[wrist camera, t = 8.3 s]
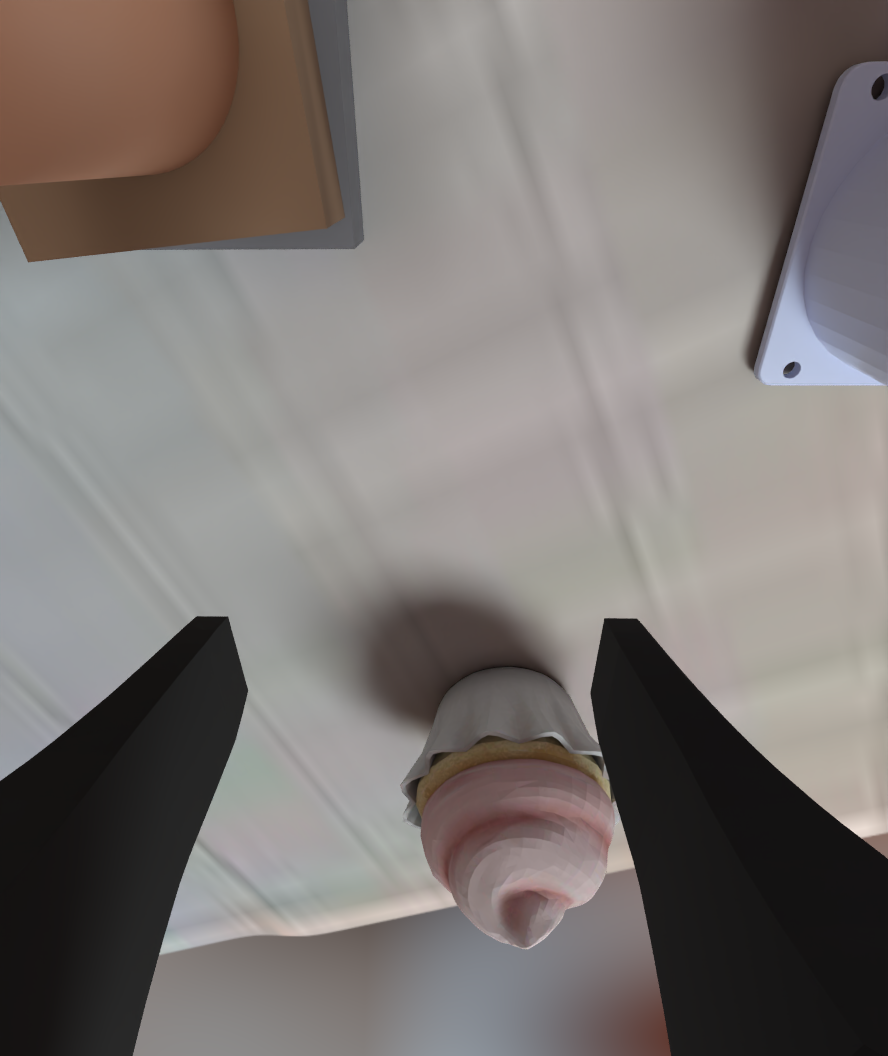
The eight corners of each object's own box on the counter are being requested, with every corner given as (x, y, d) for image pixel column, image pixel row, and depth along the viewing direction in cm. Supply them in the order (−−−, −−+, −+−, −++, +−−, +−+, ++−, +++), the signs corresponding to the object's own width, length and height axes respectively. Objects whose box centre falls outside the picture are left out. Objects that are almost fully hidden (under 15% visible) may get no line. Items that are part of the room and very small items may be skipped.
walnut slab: (274, -193, 11) (232, -272, 9) (345, 217, 15) (326, 228, 13) (-66, -137, 12) (-180, -198, 10) (86, 246, 15) (28, 262, 13)
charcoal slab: (339, -159, 13) (316, -217, 11) (367, 237, 17) (354, 248, 15) (-10, -152, 13) (-99, -208, 11) (103, 238, 18) (56, 250, 16)
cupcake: (638, 660, 26) (726, 906, 17) (561, 782, 31) (601, 1020, 22) (434, 617, 25) (421, 857, 16) (388, 751, 29) (361, 988, 21)
